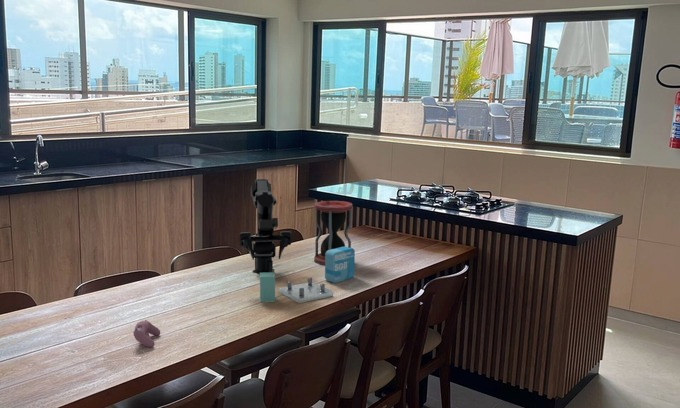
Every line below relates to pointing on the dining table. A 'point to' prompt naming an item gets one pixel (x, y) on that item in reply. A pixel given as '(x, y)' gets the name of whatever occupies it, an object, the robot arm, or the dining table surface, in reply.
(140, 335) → the video game controller
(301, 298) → the plate
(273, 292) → the module box
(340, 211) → the hourglass
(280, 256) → the robot arm
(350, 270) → the blue printed box
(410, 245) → the dining table surface
